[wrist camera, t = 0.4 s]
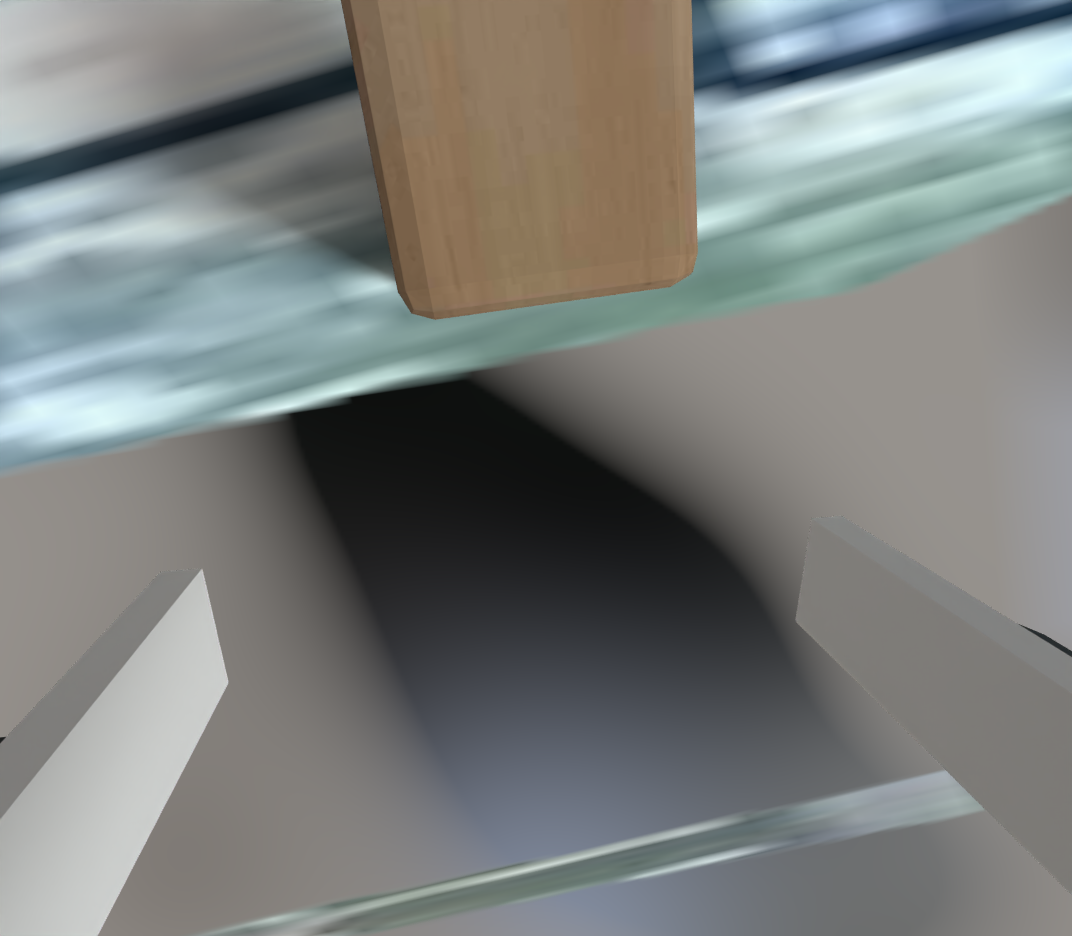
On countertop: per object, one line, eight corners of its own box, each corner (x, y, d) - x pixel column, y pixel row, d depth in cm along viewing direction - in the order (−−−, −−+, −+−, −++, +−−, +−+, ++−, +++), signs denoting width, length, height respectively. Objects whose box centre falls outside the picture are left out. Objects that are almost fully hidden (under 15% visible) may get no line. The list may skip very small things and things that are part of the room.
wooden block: (422, 298, 36) (402, 326, 18) (389, 118, 33) (321, -83, 14) (576, 277, 37) (710, 283, 19) (559, 101, 34) (703, -107, 15)
